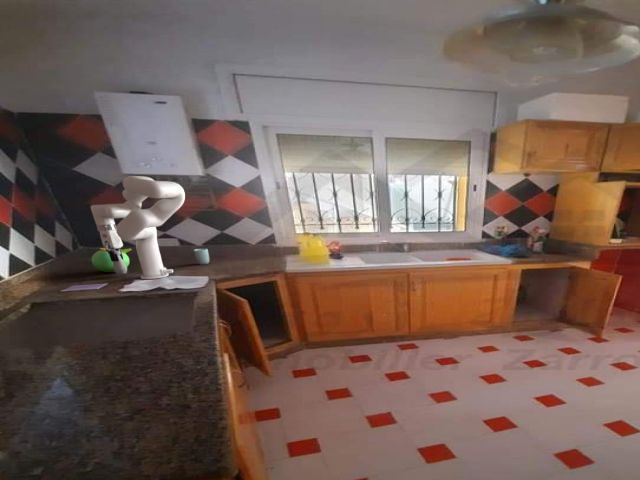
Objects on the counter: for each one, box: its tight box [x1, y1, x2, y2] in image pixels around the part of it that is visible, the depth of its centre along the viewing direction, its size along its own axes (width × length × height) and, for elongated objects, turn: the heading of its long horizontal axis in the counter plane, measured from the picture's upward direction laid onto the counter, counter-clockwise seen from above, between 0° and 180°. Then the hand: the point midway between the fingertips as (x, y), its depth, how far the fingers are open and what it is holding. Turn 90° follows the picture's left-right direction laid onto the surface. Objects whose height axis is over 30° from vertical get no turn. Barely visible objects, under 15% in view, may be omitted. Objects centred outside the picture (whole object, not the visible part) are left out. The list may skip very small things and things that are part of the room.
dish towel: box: [59, 282, 109, 293], centre depth 160 cm, size 14×10×1 cm
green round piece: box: [91, 247, 132, 273], centre depth 190 cm, size 18×17×15 cm
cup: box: [193, 248, 210, 266], centre depth 212 cm, size 8×8×10 cm
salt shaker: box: [113, 251, 128, 275], centre depth 180 cm, size 6×6×13 cm
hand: (117, 260), depth 180 cm, fingers closed on salt shaker, 4 cm apart
